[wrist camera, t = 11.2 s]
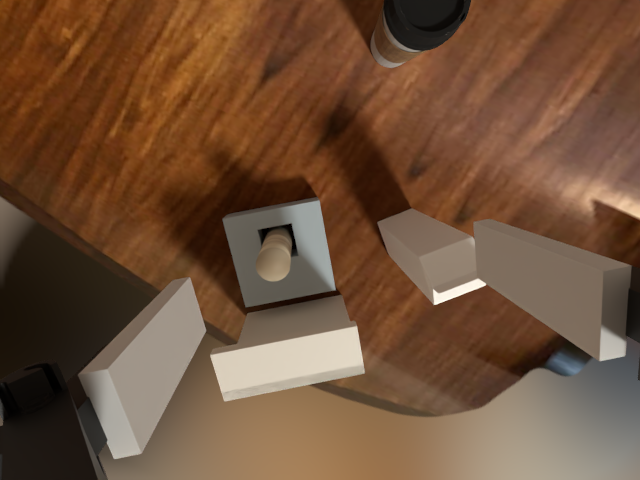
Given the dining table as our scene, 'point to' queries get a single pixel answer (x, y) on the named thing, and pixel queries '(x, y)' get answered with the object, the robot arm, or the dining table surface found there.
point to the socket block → (306, 261)
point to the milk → (431, 254)
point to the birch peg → (275, 254)
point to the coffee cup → (414, 28)
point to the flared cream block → (290, 349)
